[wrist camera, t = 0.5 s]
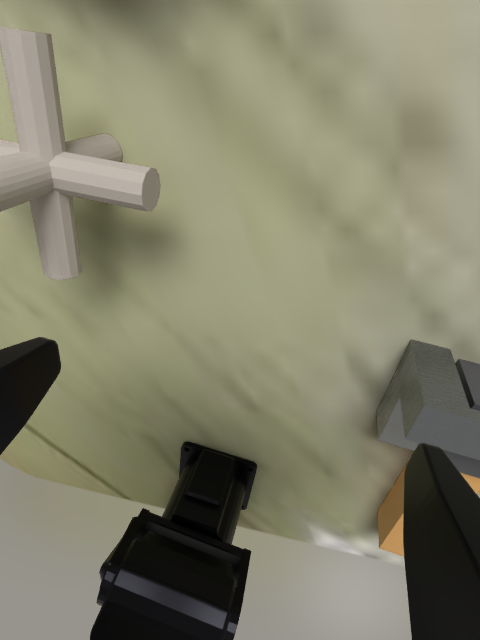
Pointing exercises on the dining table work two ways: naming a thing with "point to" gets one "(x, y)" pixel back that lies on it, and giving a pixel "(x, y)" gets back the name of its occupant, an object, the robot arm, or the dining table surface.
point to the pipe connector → (58, 157)
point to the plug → (476, 386)
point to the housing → (428, 404)
